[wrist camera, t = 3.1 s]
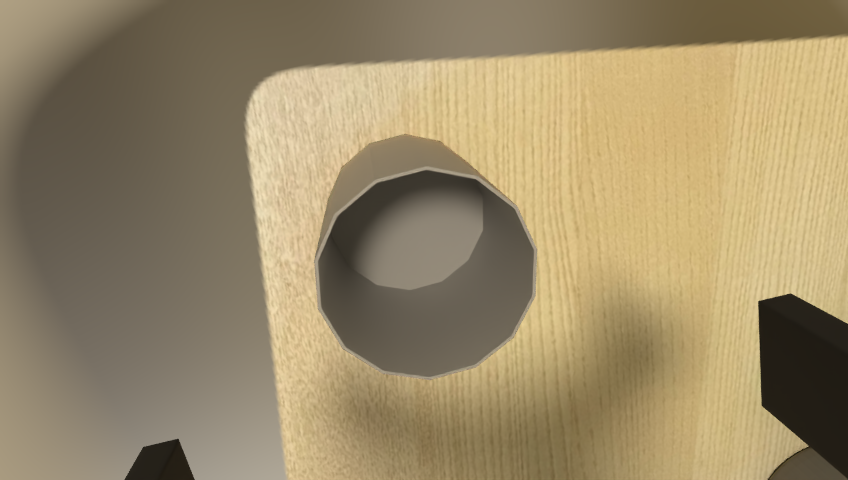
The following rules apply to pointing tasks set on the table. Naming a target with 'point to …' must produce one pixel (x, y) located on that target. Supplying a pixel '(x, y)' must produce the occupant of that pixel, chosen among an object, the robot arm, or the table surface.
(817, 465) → the mug
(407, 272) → the cup
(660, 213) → the table surface
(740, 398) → the table surface
